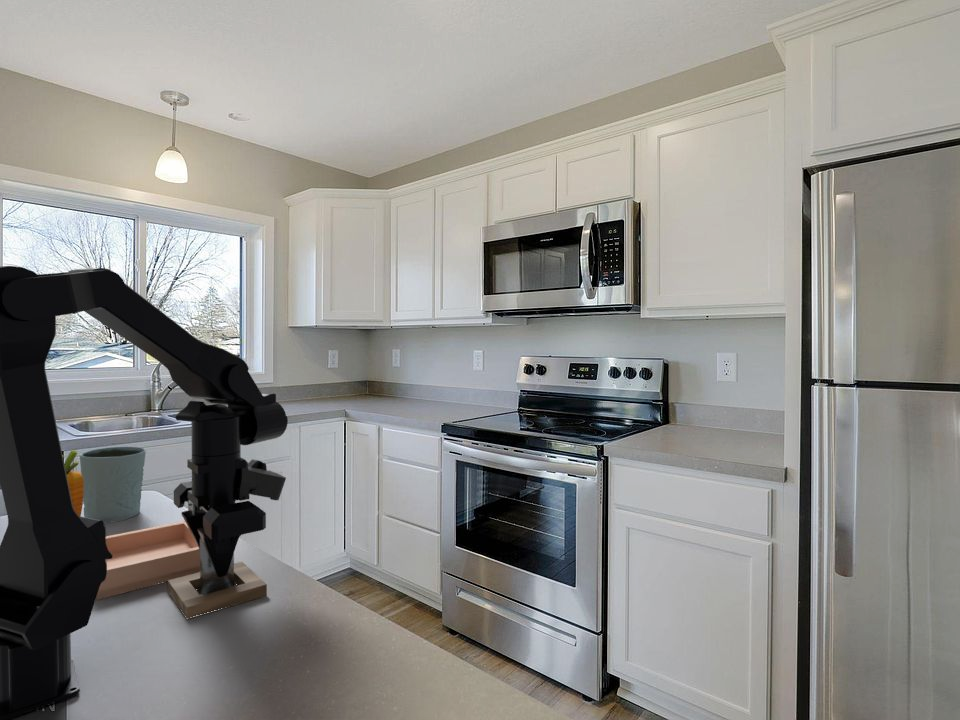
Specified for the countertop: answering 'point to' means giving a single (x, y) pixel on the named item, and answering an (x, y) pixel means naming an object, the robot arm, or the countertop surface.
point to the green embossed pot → (112, 482)
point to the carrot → (74, 482)
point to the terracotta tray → (149, 558)
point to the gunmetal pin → (213, 574)
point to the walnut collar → (196, 604)
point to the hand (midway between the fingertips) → (217, 570)
